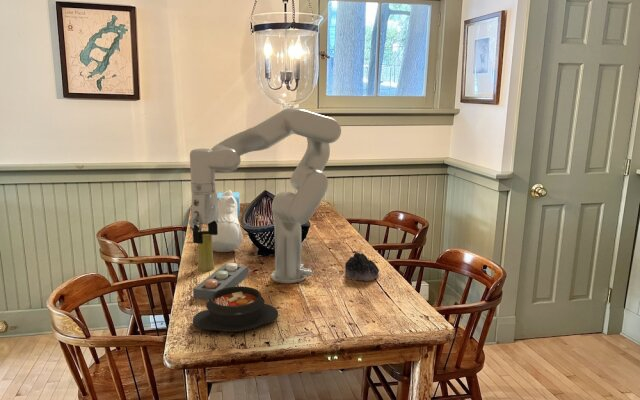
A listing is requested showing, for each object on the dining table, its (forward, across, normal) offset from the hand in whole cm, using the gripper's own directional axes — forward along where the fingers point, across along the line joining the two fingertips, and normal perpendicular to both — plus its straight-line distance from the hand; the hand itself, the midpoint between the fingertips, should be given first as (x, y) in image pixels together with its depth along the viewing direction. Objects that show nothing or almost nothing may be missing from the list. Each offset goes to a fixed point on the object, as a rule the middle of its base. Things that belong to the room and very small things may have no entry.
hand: (205, 238), depth 165 cm
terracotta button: (+17, -1, -2) cm, 17 cm away
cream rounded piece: (+17, +15, -2) cm, 22 cm away
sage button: (+17, +7, -2) cm, 18 cm away
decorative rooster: (+19, +44, +17) cm, 50 cm away
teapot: (+19, +90, +37) cm, 99 cm away
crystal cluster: (+19, +31, -46) cm, 59 cm away
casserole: (+19, -16, -18) cm, 31 cm away
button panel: (+19, +7, -2) cm, 20 cm away
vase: (+19, +20, +12) cm, 30 cm away
